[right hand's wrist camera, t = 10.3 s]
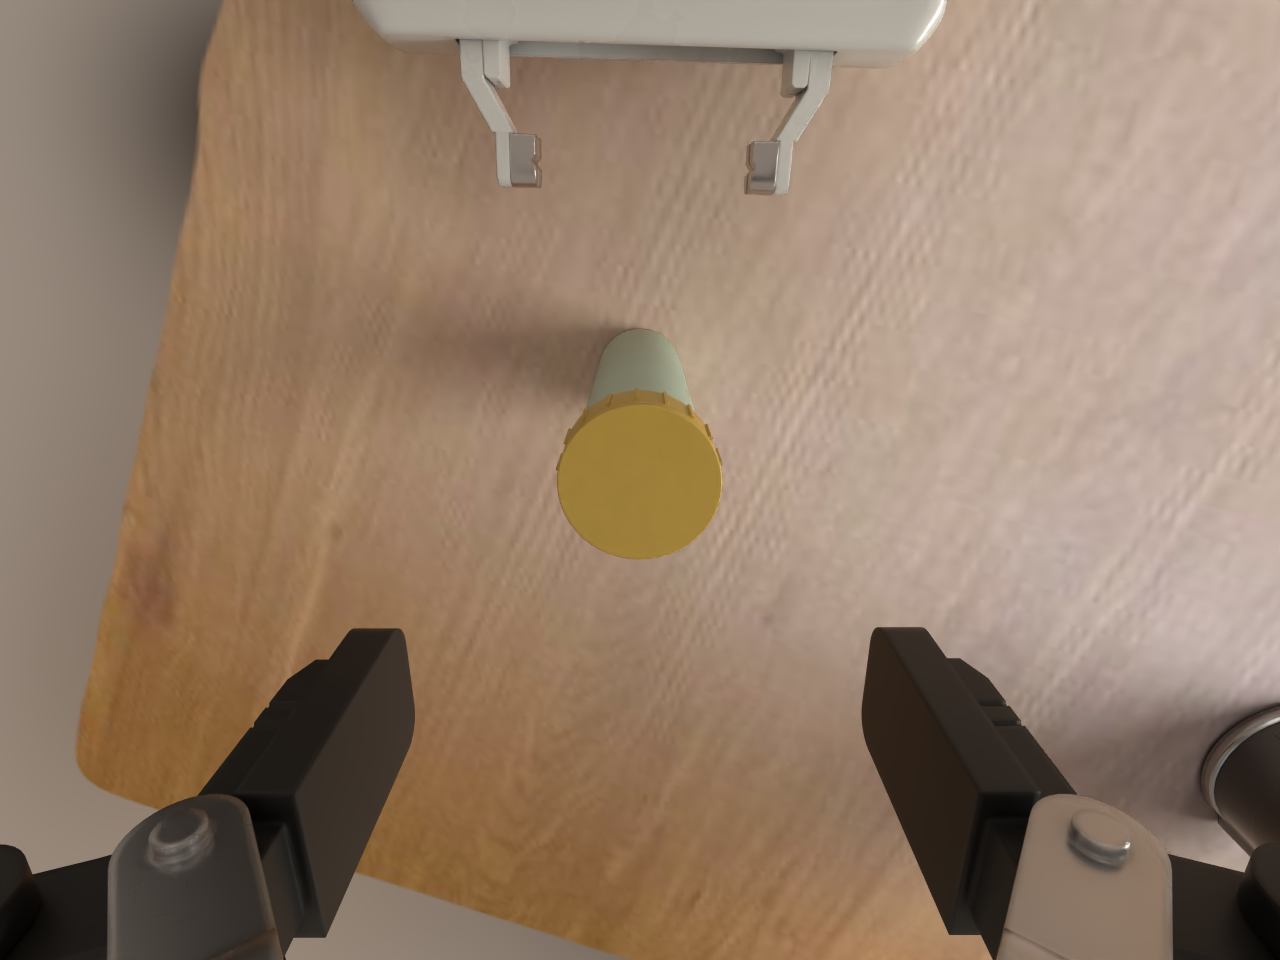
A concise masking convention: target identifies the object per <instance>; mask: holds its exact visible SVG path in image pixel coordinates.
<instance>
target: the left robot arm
mask: <svg viewBox="0 0 1280 960" xmlns="http://www.w3.org/2000/svg"><path fill="white" fill-rule="evenodd" d="M352 1H353V4H354V6H355V7H356V9H357V11H358V12H359V14H360V15H361V16H362V18H363V19H364V20H365V22H366V23H367V24H368V26H369V27H370V28H371V29H372V30H373V31H374V32H375V33H376V34H377V35H378V36H379V37H380V38H381V39H383V40H384V41H385V42H387V43H388V44H389V45H391V46H393V47H394V48H396V49H398V50H399V51H402V52H405V53H416V54H446V55H460V61H461V78H462V80H463V81H464V83H465V85H466V87H467V89H468V90H469V92H470V94H471V96H472V98H473V99H474V101H475V103H476V105H477V107H478V108H479V110H480V112H481V114H482V116H483V117H484V119H485V121H486V123H487V125H488V126H489V128H490V130H491V132H492V133H494V134H495V143H496V167H497V179H498V184H499V186H501V187H515V188H541V185H542V170H541V169H540V167H539V166H538V163H539V161H540V160H541V139H540V138H537V136H536V135H535V134H518V132H517V130H516V129H515V127H514V125H513V123H512V121H511V119H510V117H509V115H508V113H507V111H506V110H505V108H504V106H503V104H502V102H501V100H500V98H499V96H498V94H497V92H496V91H495V86H496V87H497V88H498V89H508V88H509V87H510V57H539V58H571V59H602V60H633V61H664V62H695V63H726V64H757V65H783V67H782V81H781V96H782V97H783V98H792V97H794V96H795V100H794V102H793V104H792V105H791V107H790V109H789V110H788V112H787V114H786V115H785V117H784V119H783V120H782V122H781V124H780V125H779V127H778V129H777V130H776V132H775V134H774V135H773V137H772V139H771V140H770V141H754V142H752V143H751V144H749V145H748V146H747V152H746V166H747V168H748V170H749V172H748V173H747V174H746V176H745V179H744V193H745V194H749V195H768V196H782V195H786V194H787V191H788V187H789V181H790V171H791V160H792V149H793V143H795V142H797V140H798V139H799V137H800V135H801V134H802V132H803V131H804V129H805V128H806V126H807V124H808V123H809V121H810V120H811V118H812V117H813V115H814V113H815V112H816V110H817V109H818V107H819V105H820V104H821V102H822V101H823V99H824V98H825V96H826V94H827V93H828V91H829V89H830V80H831V71H832V67H851V68H889V67H892V66H894V65H896V64H898V63H899V62H901V61H903V60H905V59H906V58H908V57H909V56H910V55H912V54H913V53H915V52H916V51H917V50H918V49H919V48H920V47H921V46H922V45H923V44H924V43H925V42H926V41H927V40H928V39H929V37H930V36H931V35H932V34H933V32H934V31H935V30H936V29H937V27H938V25H939V24H940V22H941V20H942V17H943V15H944V11H945V8H946V3H947V0H352Z"/></svg>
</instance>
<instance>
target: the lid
mask: <svg viewBox="0 0 1280 960" xmlns="http://www.w3.org/2000/svg"><path fill="white" fill-rule="evenodd" d="M712 439H713V437H712V434H711V431H710V428H709V425H708V424H706V425H705V424H704V423H703V421H702V420H701V419H700V418H699V416H698V415H697V414H696V413H695V412H694V411H693V410H692V407H691V405H690V404H688V405H685V404H684V403H682V402H681V401H679V400H677V399H675V398H673V397H671V396H669V395H667V392H665V391H663V393H659V392H654V391H647V390H639V388H635V390H632V391H625V392H620V393H617V394H614V395H611V393H609V394H607V397H606V398H604V399H602V400H600V401H599V402H597V403H596V404H594V405H593V406H591V407H590V408H589V409H588V408H587V407H586V408H585V409H584V411H583V415H582V416H581V417H580V418H579V419H578V420H577V422H576V423H575V425H574V426H573V428H572V429H570V428H569V430H568V432H567V435H566V438H565V441H564V444H565V448H564V451H563V453H561V455H560V458H559V461H558V464H557V467H556V470H558V473H557V489H558V496H559V500H560V504H561V507H562V509H563V512H564V514H565V516H566V518H567V519H568V521H569V523H570V524H571V525H572V527H573V528H574V529H575V531H576V532H577V533H578V534H579V535H580V536H581V537H582V538H583V539H585V540H586V541H587V542H588V543H590V544H591V545H593V546H594V547H596V548H598V549H599V550H602V551H604V552H606V553H608V554H611V555H614V556H618V557H622V558H628V559H651V558H657V557H662V556H665V555H668V554H671V553H673V552H676V551H678V550H680V549H682V548H683V547H685V546H687V545H688V544H690V543H691V542H692V541H694V540H695V539H696V538H697V537H698V536H699V535H700V534H701V533H702V532H703V531H704V530H705V529H706V527H707V526H708V525H709V523H710V522H711V520H712V518H713V517H714V515H715V513H716V510H717V508H718V505H719V502H720V498H721V492H722V471H721V465H723V464H722V460H721V457H720V454H719V451H718V449H717V448H716V449H715V446H714V443H713V440H712Z"/></svg>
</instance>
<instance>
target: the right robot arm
mask: <svg viewBox="0 0 1280 960" xmlns="http://www.w3.org/2000/svg"><path fill="white" fill-rule="evenodd" d="M414 723H415V707H414V699H413V691H412V684H411V676H410V669H409V662H408V654H407V647H406V640H405V636H404V633H403V632H402V630H401V629H398V628H354V629H352V630H350V631H349V632H348V633H347V635H346V636H345V638H344V639H343V640H342V642H341V643H340V645H339V646H338V647H337V649H336V650H335V652H334V653H333V654H332V656H331V657H330V659H329V660H315V661H313V662H312V663H311V664H309V665H308V666H306V667H305V668H303V669H302V670H301V671H299V672H298V673H296V674H295V675H293V676H292V677H291V678H289V679H288V680H287V681H286V682H285V683H284V685H283V686H282V687H281V689H280V690H279V691H278V693H277V694H276V695H275V696H274V698H273V699H272V700H271V702H270V703H269V708H265V709H264V711H263V712H262V713H261V714H260V716H259V717H258V718H257V720H256V721H255V722H254V727H253V728H250V729H249V730H248V731H247V733H246V734H245V735H244V736H243V738H242V739H241V740H240V742H239V743H238V744H237V745H236V747H235V748H234V749H233V751H232V752H231V753H230V754H229V756H228V757H227V758H226V760H225V761H224V762H223V763H222V765H221V766H220V767H219V769H218V770H217V771H216V773H215V774H214V775H213V776H212V778H211V779H210V780H209V782H208V783H207V784H206V785H205V787H204V788H203V789H202V791H201V792H200V793H199V794H198V796H196V797H192V798H188V799H185V800H182V801H179V802H176V803H174V804H172V805H169V806H167V807H165V808H163V809H161V810H159V811H157V812H156V813H154V814H152V815H151V816H149V817H148V818H146V819H145V820H143V821H142V822H141V823H139V824H138V825H137V826H136V827H134V828H133V829H132V830H131V831H130V832H129V833H128V834H127V835H126V836H125V837H124V838H123V839H122V841H121V842H120V843H119V844H118V846H117V847H116V849H115V851H114V852H113V854H112V855H109V856H105V857H102V858H98V859H94V860H90V861H86V862H82V863H78V864H73V865H70V866H65V867H61V868H57V869H53V870H49V871H45V872H41V873H37V874H33V875H32V872H31V870H30V867H29V865H28V862H27V860H26V857H25V855H24V854H23V853H22V851H21V850H19V849H17V848H16V847H13V846H9V845H0V960H286V958H285V954H286V952H287V950H288V948H289V946H290V944H291V942H292V940H293V938H325V937H326V935H327V933H328V931H329V929H330V927H331V924H332V922H333V920H334V917H335V915H336V913H337V911H338V908H339V906H340V904H341V902H342V899H343V897H344V895H345V892H346V890H347V888H348V886H349V883H350V881H351V879H352V877H353V874H354V872H355V870H356V868H357V865H358V863H359V861H360V858H361V856H362V854H363V852H364V849H365V847H366V845H367V843H368V840H369V838H370V836H371V834H372V831H373V829H374V827H375V824H376V822H377V820H378V818H379V815H380V813H381V811H382V809H383V806H384V804H385V802H386V800H387V797H388V795H389V793H390V790H391V788H392V786H393V784H394V781H395V779H396V777H397V775H398V772H399V770H400V768H401V766H402V763H403V761H404V759H405V756H406V754H407V752H408V750H409V747H410V744H411V741H412V737H413V731H414ZM862 726H863V733H864V738H865V741H866V745H867V747H868V750H869V752H870V754H871V757H872V759H873V761H874V763H875V766H876V768H877V770H878V773H879V775H880V777H881V780H882V782H883V784H884V786H885V789H886V791H887V793H888V796H889V798H890V800H891V803H892V805H893V807H894V809H895V812H896V814H897V816H898V819H899V821H900V823H901V825H902V828H903V830H904V832H905V835H906V837H907V839H908V842H909V844H910V846H911V848H912V851H913V853H914V855H915V858H916V860H917V862H918V865H919V867H920V869H921V871H922V874H923V876H924V878H925V881H926V883H927V885H928V888H929V890H930V892H931V894H932V897H933V899H934V901H935V904H936V906H937V908H938V910H939V913H940V915H941V917H942V920H943V922H944V924H945V927H946V929H947V931H948V933H949V935H981V936H982V938H983V940H984V942H985V944H986V946H987V949H988V951H989V953H990V955H991V957H992V959H993V960H1280V706H1278V707H1274V708H1271V709H1268V710H1265V711H1262V712H1259V713H1257V714H1255V715H1253V716H1251V717H1249V718H1247V719H1245V720H1243V721H1242V722H1240V723H1239V724H1237V725H1236V726H1234V727H1233V728H1232V729H1230V730H1229V731H1228V732H1227V733H1226V734H1225V735H1224V736H1223V737H1222V738H1221V739H1220V740H1219V741H1218V742H1217V743H1216V744H1215V746H1214V747H1213V748H1212V750H1211V751H1210V753H1209V755H1208V756H1207V758H1206V760H1205V763H1204V766H1203V769H1202V773H1201V788H1202V792H1203V795H1204V797H1205V799H1206V801H1207V802H1208V804H1209V805H1210V806H1211V807H1212V808H1213V809H1214V810H1215V811H1216V812H1217V813H1218V814H1219V819H1218V824H1219V825H1220V826H1221V827H1222V828H1223V829H1224V830H1225V831H1226V832H1227V833H1228V834H1229V835H1230V836H1231V837H1232V839H1233V840H1234V841H1235V842H1236V843H1237V844H1238V845H1239V846H1240V847H1241V848H1242V849H1243V850H1244V851H1245V852H1246V853H1247V854H1248V855H1249V856H1250V860H1249V862H1248V865H1247V867H1246V870H1245V872H1239V871H1235V870H1231V869H1227V868H1223V867H1219V866H1215V865H1211V864H1207V863H1203V862H1199V861H1194V860H1190V859H1186V858H1182V857H1178V856H1174V855H1171V854H1167V852H1166V851H1165V849H1164V847H1163V846H1162V844H1161V843H1160V842H1159V841H1158V839H1157V838H1156V837H1155V836H1154V835H1153V834H1152V833H1151V832H1150V831H1149V830H1148V829H1147V828H1146V827H1144V826H1143V825H1142V824H1141V823H1139V822H1138V821H1137V820H1135V819H1134V818H1132V817H1131V816H1129V815H1128V814H1126V813H1124V812H1123V811H1121V810H1119V809H1117V808H1115V807H1113V806H1111V805H1108V804H1106V803H1104V802H1101V801H1098V800H1095V799H1092V798H1088V797H1084V796H1080V795H1077V793H1076V792H1075V791H1074V790H1073V788H1072V787H1071V786H1070V784H1069V783H1068V782H1067V780H1066V779H1065V778H1064V776H1063V775H1062V774H1061V773H1060V771H1059V770H1058V769H1057V767H1056V766H1055V765H1054V763H1053V762H1052V761H1051V760H1050V758H1049V757H1048V756H1047V754H1046V753H1045V752H1044V750H1043V749H1042V748H1041V747H1040V745H1039V744H1038V743H1037V741H1036V740H1035V739H1034V737H1033V736H1032V735H1031V734H1030V732H1029V731H1028V730H1027V728H1026V727H1025V726H1021V720H1020V719H1019V718H1018V717H1017V715H1016V714H1015V713H1014V711H1013V710H1012V709H1011V707H1010V706H1006V701H1005V700H1004V698H1003V697H1002V696H1001V694H1000V693H999V692H998V691H997V689H996V688H995V687H994V685H993V684H992V683H991V681H990V680H989V679H988V678H987V677H986V676H984V675H983V674H981V673H980V672H978V671H977V670H976V669H974V668H973V667H971V666H970V665H969V664H967V663H966V662H964V661H963V660H961V659H960V658H946V656H945V655H944V654H943V652H942V651H941V649H940V648H939V647H938V645H937V644H936V642H935V641H934V639H933V638H932V637H931V635H930V634H929V632H928V631H927V630H926V629H925V628H922V627H877V628H875V629H874V631H873V633H872V636H871V641H870V648H869V655H868V663H867V671H866V678H865V686H864V693H863V701H862Z"/></svg>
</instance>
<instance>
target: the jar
mask: <svg viewBox="0 0 1280 960" xmlns="http://www.w3.org/2000/svg"><path fill="white" fill-rule="evenodd" d="M635 388H639V390H647V391H654V392H659V393H663V391H665V392H667V395H669V396H671V397H673V398H675V399H677V400H679V401H681V402H682V403H684V404H685V405H688V404H690V405H691V407H692V410H693V411H694V409H693V406H692V402H691V399H690V395H689V392H688V388H687V385H686V381H685V378H684V374H683V371H682V368H681V364H680V361H679V357H678V354H677V352H676V350H675V348H674V347H673V345H672V344H671V343H670V342H669V341H668V340H667V339H666V338H665V337H664V336H662V335H661V334H659V333H657V332H654V331H652V330H647V329H633V330H628V331H625V332H623V333H621V334H619V335H618V336H616V337H615V338H614V339H612V340H611V341H610V343H609V344H608V345H607V346H606V348H605V350H604V352H603V354H602V357H601V360H600V363H599V367H598V370H597V373H596V377H595V380H594V384H593V387H592V390H591V394H590V397H589V401H588V404H587V408H588V409H589V408H590V407H591V406H593V405H594V404H596V403H597V402H599V401H600V400H602V399H604V398H606V397H607V394H609V393H611V395H614V394H617V393H620V392H625V391H632V390H635Z"/></svg>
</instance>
